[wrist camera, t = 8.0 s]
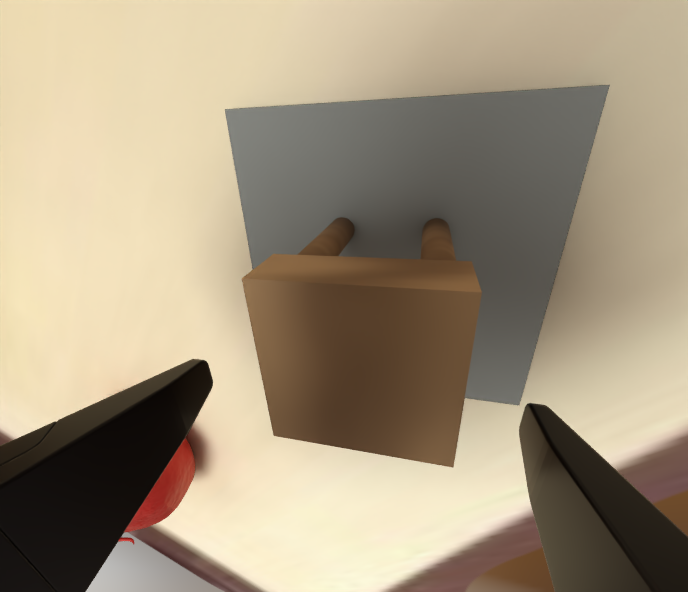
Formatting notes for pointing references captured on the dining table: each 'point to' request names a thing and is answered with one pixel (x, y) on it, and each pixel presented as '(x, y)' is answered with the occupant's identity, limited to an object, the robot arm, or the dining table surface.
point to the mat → (431, 195)
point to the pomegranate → (166, 490)
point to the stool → (366, 344)
